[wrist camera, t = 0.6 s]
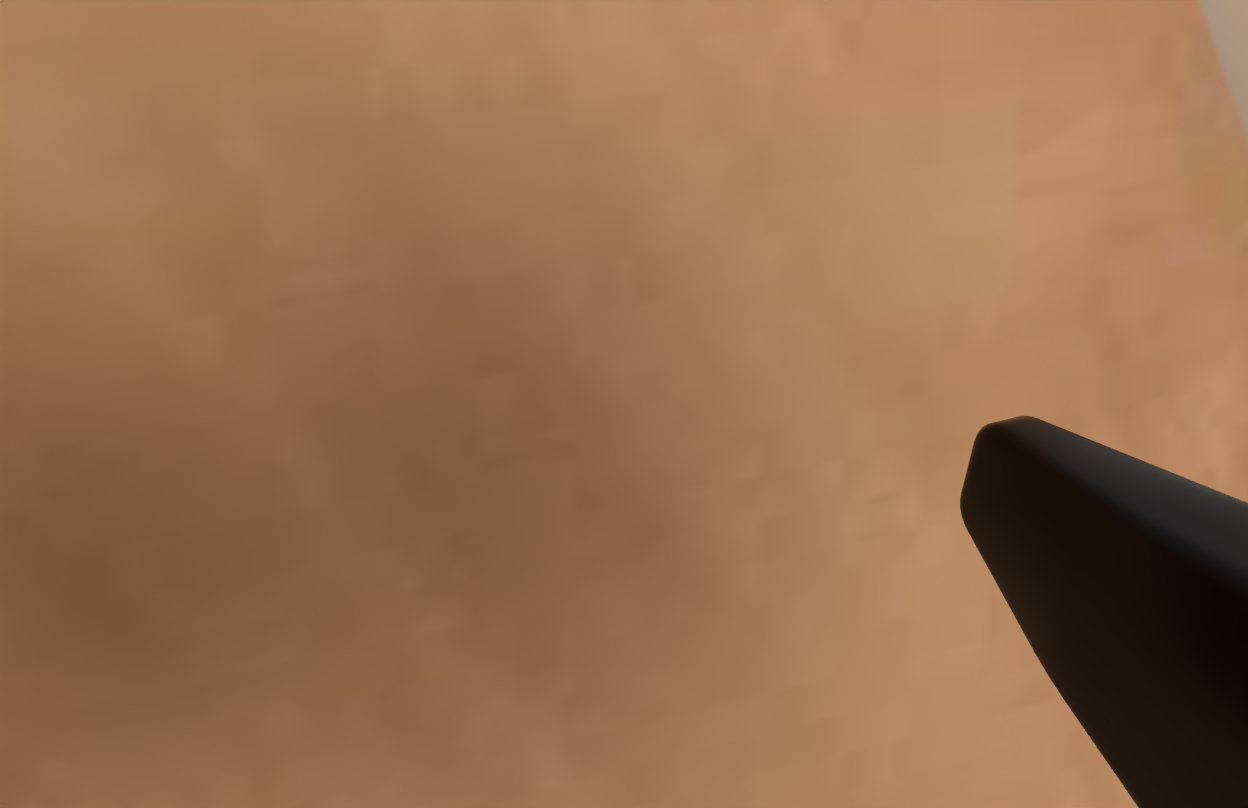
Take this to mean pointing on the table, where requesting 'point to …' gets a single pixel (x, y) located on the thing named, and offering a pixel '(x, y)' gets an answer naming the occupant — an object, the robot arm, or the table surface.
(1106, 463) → the robot arm
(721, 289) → the table surface
